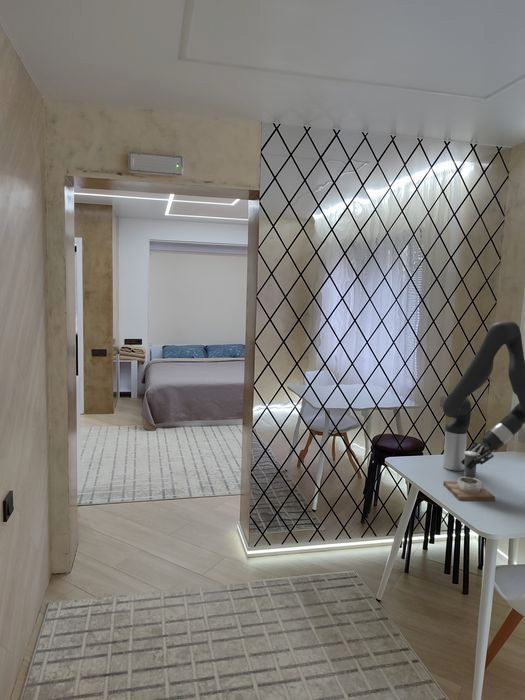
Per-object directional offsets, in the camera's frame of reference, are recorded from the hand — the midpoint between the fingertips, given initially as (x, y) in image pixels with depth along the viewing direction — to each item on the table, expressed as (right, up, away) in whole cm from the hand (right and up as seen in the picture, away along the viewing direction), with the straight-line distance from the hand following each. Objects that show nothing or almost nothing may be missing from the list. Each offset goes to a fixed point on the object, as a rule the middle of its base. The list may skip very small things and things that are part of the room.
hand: (465, 465), depth 200 cm
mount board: (+2, -11, +1) cm, 11 cm away
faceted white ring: (+2, -10, +1) cm, 10 cm away
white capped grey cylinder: (+2, -4, 0) cm, 5 cm away
